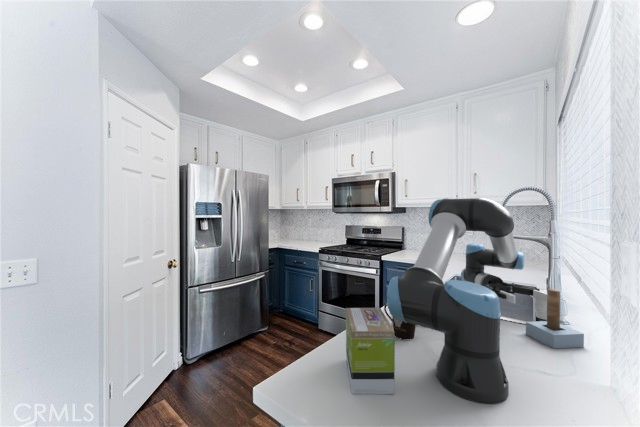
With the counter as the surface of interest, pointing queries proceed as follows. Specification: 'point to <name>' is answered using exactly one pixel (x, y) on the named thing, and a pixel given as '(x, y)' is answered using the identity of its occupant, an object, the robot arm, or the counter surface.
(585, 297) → the counter surface
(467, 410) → the counter surface
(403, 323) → the coffee mug
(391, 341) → the tea box
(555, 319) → the dowel
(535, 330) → the socket block
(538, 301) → the white cup
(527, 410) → the counter surface
